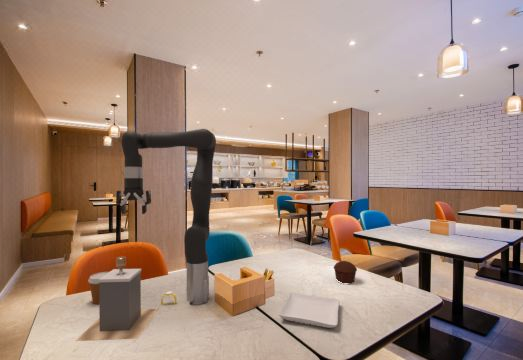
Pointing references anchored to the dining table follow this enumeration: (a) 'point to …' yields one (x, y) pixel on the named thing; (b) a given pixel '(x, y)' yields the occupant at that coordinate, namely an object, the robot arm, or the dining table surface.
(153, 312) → the oak board
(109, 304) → the block
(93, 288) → the disposable coffee cup
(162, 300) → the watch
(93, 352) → the dining table surface
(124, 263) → the plunger
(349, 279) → the muffin
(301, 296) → the salad plate
